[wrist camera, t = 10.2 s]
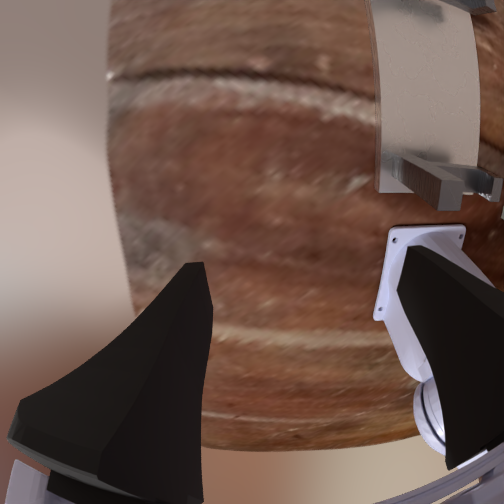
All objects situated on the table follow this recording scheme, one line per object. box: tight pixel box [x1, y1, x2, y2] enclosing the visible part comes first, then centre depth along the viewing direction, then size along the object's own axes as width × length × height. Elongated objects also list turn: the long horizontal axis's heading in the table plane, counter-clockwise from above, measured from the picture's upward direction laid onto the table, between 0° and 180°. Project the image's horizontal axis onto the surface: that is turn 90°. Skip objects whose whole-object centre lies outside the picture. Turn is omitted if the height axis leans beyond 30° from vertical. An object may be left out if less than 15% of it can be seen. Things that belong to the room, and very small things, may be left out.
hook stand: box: [364, 0, 503, 211], centre depth 10 cm, size 17×9×7 cm, turn 5°
